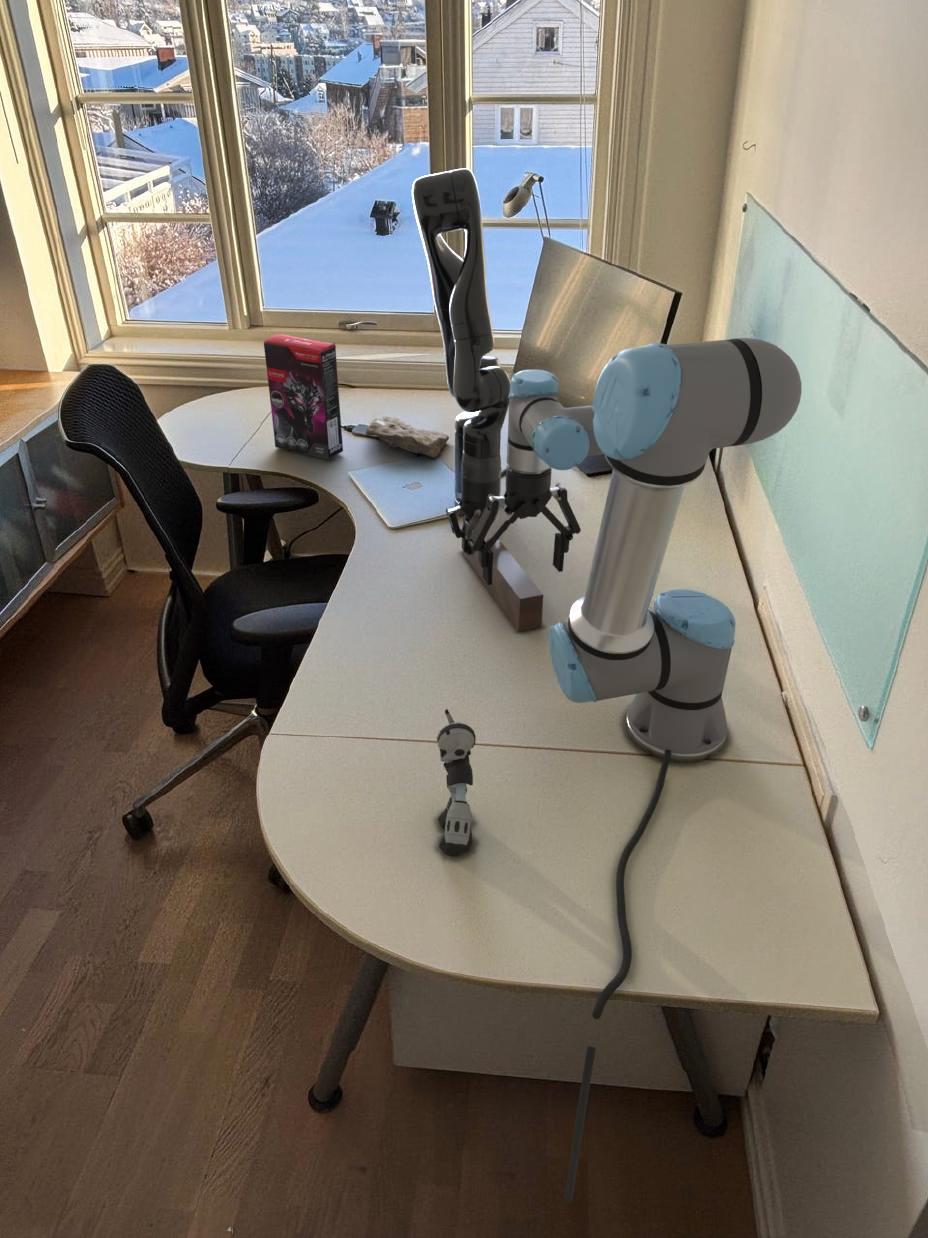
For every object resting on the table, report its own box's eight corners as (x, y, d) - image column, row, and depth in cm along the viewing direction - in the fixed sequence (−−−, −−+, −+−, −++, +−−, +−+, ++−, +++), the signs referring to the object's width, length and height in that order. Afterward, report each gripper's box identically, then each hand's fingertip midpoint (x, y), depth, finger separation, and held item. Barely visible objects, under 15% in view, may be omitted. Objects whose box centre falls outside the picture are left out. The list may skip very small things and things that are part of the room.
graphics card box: (273, 448, 231) (260, 339, 216) (289, 438, 236) (278, 332, 221) (329, 461, 225) (320, 351, 210) (345, 451, 230) (337, 342, 215)
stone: (350, 440, 227) (354, 417, 225) (371, 432, 241) (376, 409, 239) (429, 465, 224) (434, 441, 222) (446, 455, 237) (452, 432, 235)
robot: (478, 890, 117) (481, 774, 106) (439, 891, 117) (438, 775, 106) (469, 781, 133) (471, 671, 122) (436, 782, 133) (434, 671, 122)
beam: (541, 627, 166) (543, 594, 163) (518, 632, 165) (520, 599, 161) (482, 549, 190) (483, 519, 186) (462, 553, 189) (462, 522, 185)
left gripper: (508, 460, 180) (505, 537, 190) (439, 470, 176) (439, 548, 186) (523, 475, 174) (519, 554, 184) (452, 486, 170) (451, 566, 180)
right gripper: (587, 446, 158) (577, 552, 171) (450, 466, 151) (449, 575, 164) (607, 464, 153) (595, 573, 165) (465, 485, 146) (464, 597, 158)
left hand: (479, 550), depth 185 cm, fingers closed on beam, 4 cm apart
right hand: (522, 574), depth 164 cm, fingers open, 13 cm apart
